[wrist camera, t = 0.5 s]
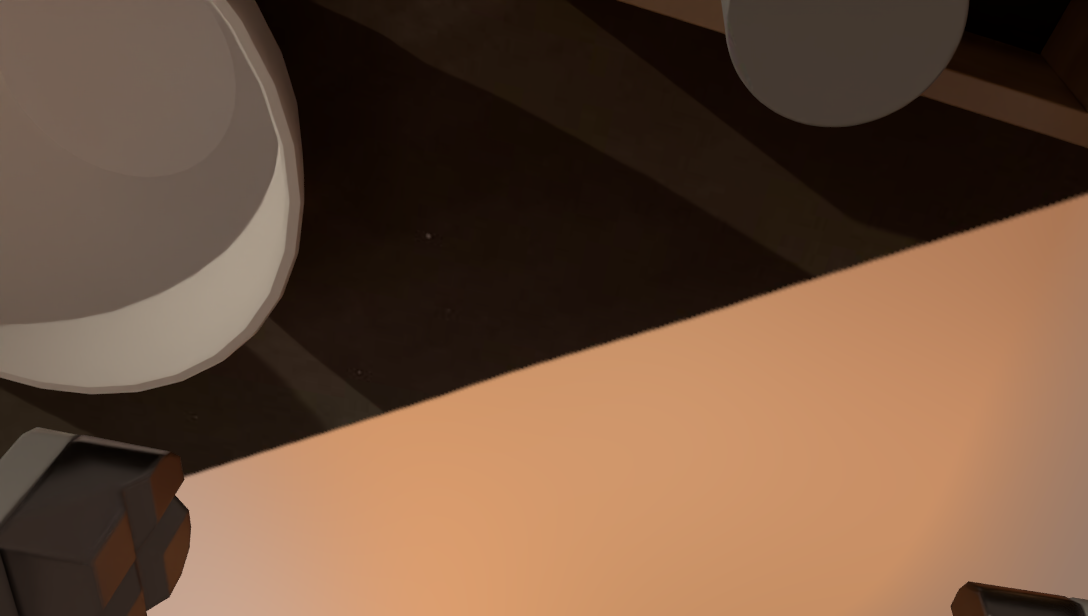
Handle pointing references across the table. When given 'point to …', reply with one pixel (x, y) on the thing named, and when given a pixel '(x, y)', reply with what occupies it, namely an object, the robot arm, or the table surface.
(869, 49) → the container
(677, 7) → the rack
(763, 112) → the table surface
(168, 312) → the bowl
